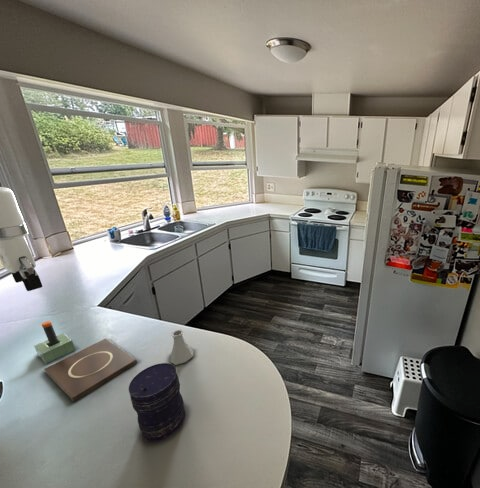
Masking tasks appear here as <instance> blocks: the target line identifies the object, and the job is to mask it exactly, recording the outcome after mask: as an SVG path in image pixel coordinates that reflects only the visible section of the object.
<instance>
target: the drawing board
mask: <svg viewBox="0 0 480 488" xmlns="http://www.w3.org/2000/svg"><path fill="white" fill-rule="evenodd" d="M136 364H138V362H137V359H136V358H135V357H133V356H132V355H131V354H129V353H128V352H127V351H125V350H124V349H122V348H121V347H119V346H118V345H116V344H115V343H113V342H112V341H111V340H109V339H108V338H107V337H106V338H103V339H101V340H100V341H97V342H95V343H94V344H91V345H90V346H87V347H86V348H85V347H84V348H83V349H81V350H78V352H75V353H73V354H71V355H69V356H66V357H65V358H62V359H61V360H59V361H57V362H55V363H53V364H51V365H48V366H47V367H44V369H43V370H44V372H45V373H46V374H47V376H48V377H49V378H50V379H51V380H52V381H53V382H54V383H55V384H56V386H58V387H59V388H60V389H61V390H62V391H63V392H64V393H65V394H66V395H67V397H68V398H69V399H70V400H71V401H72V402H73V403H74V402H75V403H76V401H78V400H79V399H81V398H83V397H84V396H86V395H88V394H90V393H91V392H92V391H94V390H96V389H97V388H99V387H101V386H102V385H104V384H105V383H107V382H108V381H111V380H112V379H114V378H115V377H117V376H118V375H120V374H121V373H123V372H125V371H127V370H129V369H130V368H131V367H133V366H135V365H136Z"/></svg>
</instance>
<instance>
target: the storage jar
mask: <svg viewBox="0 0 480 488" xmlns="http://www.w3.org/2000/svg"><path fill="white" fill-rule="evenodd" d="M128 393H129V397H130V402H131V405H132V408H133V410H134V411H135V412H136V413H137V414H136V415H137V423H138V427H139V431H140V432H141V435H142V438H143V439H144V441H147V442H149V443H158V442H162V441H164V440H166V439H168V438H170V437H171V436H173V435H174V434H175V433H177V432H178V430H180V428H181V427H182V426H183V424H184V422H185V421H186V415H187V414H186V409H185V401H184V398H183V395H182V393H181V382H180V379H179V375H178V371H177V368H176V365H175V364H173V363H168V362H162V363H157V364H153V365H150V366H148V367H146V368H144V369H143V370H141V371H140V372H138V373H137V374H136V375H135V376H134V377H133V378H132V379H131V381H130V383H129V385H128Z"/></svg>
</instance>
